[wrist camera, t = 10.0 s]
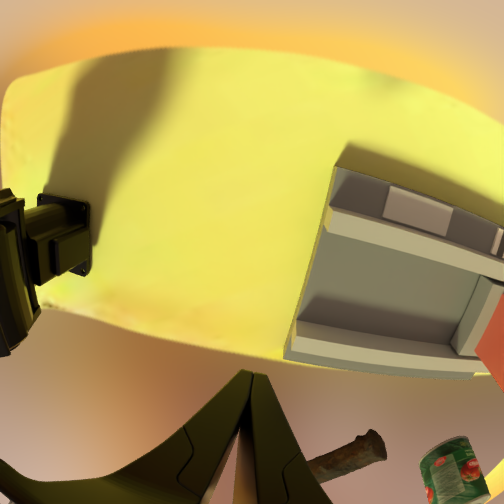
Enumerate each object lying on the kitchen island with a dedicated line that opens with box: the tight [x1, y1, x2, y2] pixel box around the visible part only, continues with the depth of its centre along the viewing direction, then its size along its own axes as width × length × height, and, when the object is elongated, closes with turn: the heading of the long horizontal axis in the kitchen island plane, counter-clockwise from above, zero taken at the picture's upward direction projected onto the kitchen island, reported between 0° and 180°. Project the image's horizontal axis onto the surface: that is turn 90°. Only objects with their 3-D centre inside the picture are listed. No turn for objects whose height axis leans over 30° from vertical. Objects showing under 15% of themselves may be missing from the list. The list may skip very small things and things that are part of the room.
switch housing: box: [283, 166, 504, 380], centre depth 18 cm, size 19×14×4 cm
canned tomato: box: [419, 436, 491, 504], centre depth 20 cm, size 8×8×11 cm
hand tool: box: [306, 429, 387, 484], centre depth 25 cm, size 19×4×5 cm, turn 131°
